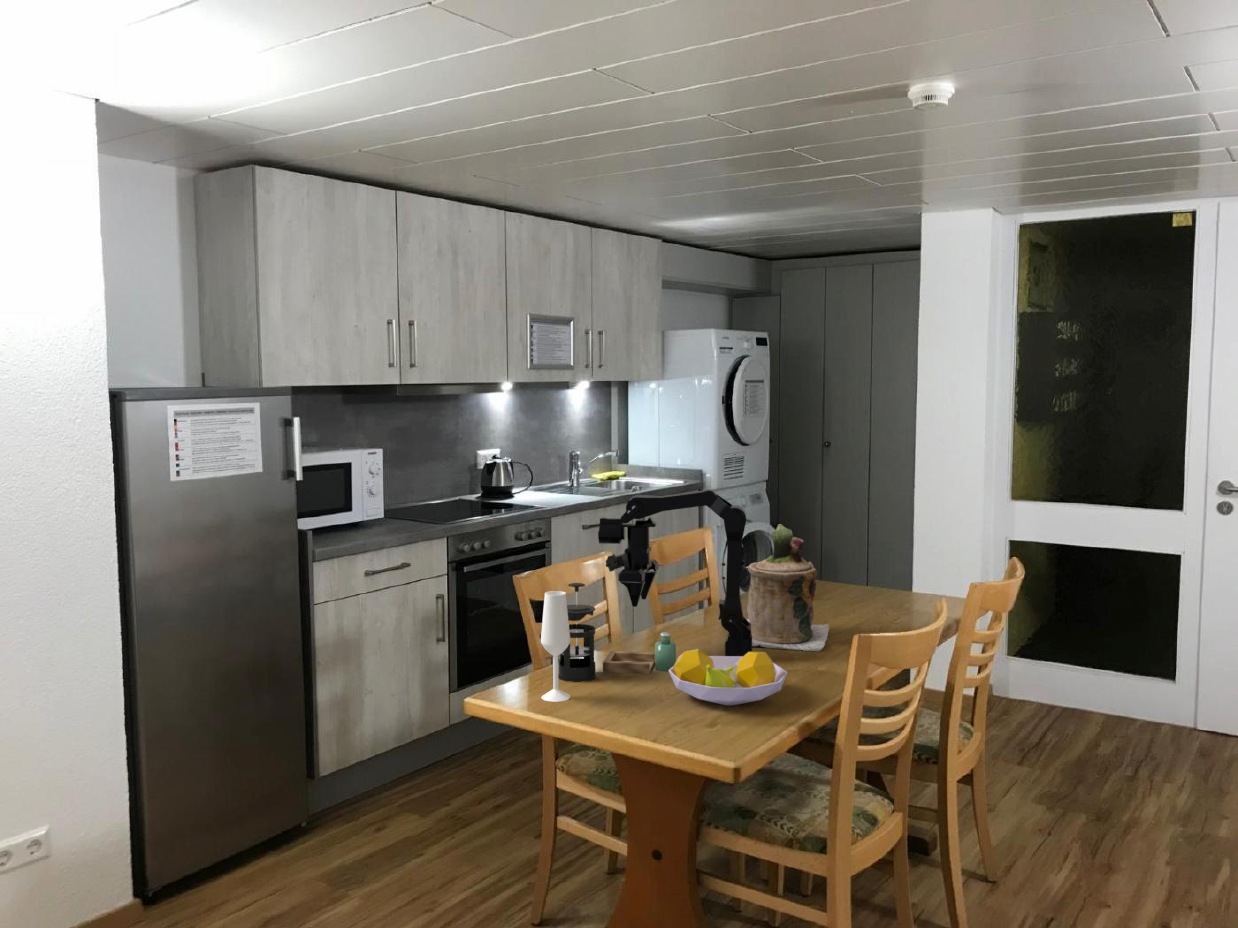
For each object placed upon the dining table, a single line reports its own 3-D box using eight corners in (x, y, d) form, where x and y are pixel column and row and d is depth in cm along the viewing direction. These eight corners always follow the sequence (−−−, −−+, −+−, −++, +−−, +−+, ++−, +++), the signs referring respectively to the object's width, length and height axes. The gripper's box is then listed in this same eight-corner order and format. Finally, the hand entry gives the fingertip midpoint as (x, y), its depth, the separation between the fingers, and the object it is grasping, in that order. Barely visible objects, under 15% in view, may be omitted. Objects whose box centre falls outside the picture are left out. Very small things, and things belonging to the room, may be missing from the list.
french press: (605, 674, 246) (605, 582, 245) (585, 684, 238) (584, 589, 237) (566, 668, 252) (565, 577, 251) (544, 677, 244) (543, 584, 243)
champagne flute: (537, 694, 231) (536, 591, 229) (565, 691, 233) (564, 589, 231) (546, 702, 224) (545, 597, 223) (574, 699, 227) (574, 594, 225)
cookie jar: (731, 646, 273) (732, 530, 271) (745, 626, 297) (746, 518, 294) (824, 653, 267) (826, 533, 264) (830, 631, 290) (832, 521, 288)
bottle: (676, 666, 254) (677, 631, 253) (674, 671, 249) (674, 636, 248) (656, 665, 255) (656, 630, 254) (653, 671, 250) (653, 635, 249)
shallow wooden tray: (654, 661, 258) (654, 652, 258) (648, 673, 247) (648, 664, 247) (610, 660, 260) (610, 650, 259) (602, 671, 249) (602, 662, 249)
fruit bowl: (710, 673, 248) (710, 627, 247) (808, 694, 231) (808, 645, 230) (640, 700, 226) (640, 651, 226) (742, 725, 209) (742, 672, 208)
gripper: (618, 537, 273) (619, 594, 274) (598, 548, 255) (599, 609, 256) (658, 538, 270) (659, 596, 271) (640, 549, 252) (641, 611, 253)
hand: (639, 602), depth 263 cm, fingers open, 9 cm apart
